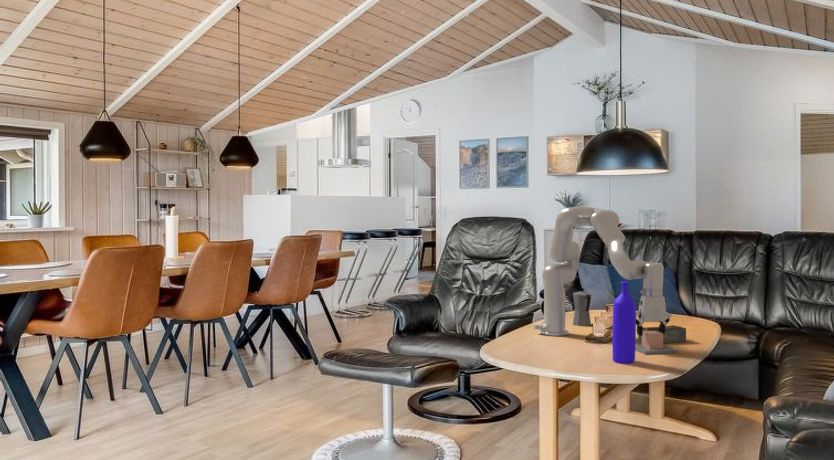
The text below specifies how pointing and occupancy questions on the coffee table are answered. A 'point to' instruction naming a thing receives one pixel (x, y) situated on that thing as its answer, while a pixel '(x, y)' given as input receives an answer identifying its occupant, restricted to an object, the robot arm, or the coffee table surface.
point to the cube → (652, 339)
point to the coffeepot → (582, 308)
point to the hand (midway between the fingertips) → (650, 334)
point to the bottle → (624, 327)
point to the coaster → (655, 351)
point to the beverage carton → (669, 334)
